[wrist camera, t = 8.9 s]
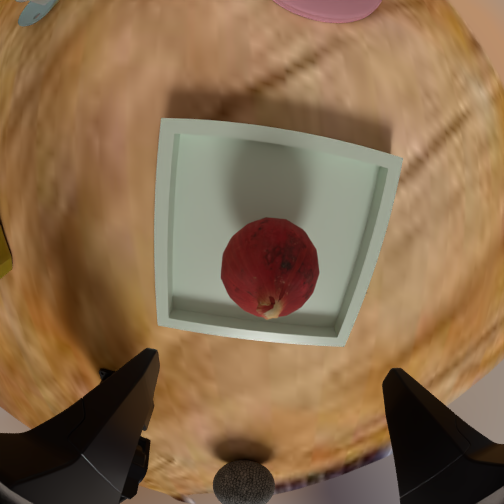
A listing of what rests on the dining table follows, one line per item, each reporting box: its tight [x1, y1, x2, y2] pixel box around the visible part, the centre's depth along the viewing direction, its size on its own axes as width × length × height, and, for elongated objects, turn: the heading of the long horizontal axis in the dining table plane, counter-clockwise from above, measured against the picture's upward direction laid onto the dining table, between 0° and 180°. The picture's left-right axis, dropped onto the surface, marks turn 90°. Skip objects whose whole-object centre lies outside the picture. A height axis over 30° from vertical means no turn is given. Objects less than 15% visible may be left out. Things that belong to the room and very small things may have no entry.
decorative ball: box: [213, 460, 275, 504], centre depth 32 cm, size 10×10×10 cm
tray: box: [154, 118, 403, 347], centre depth 19 cm, size 16×16×2 cm
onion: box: [221, 217, 320, 320], centre depth 16 cm, size 6×6×8 cm
